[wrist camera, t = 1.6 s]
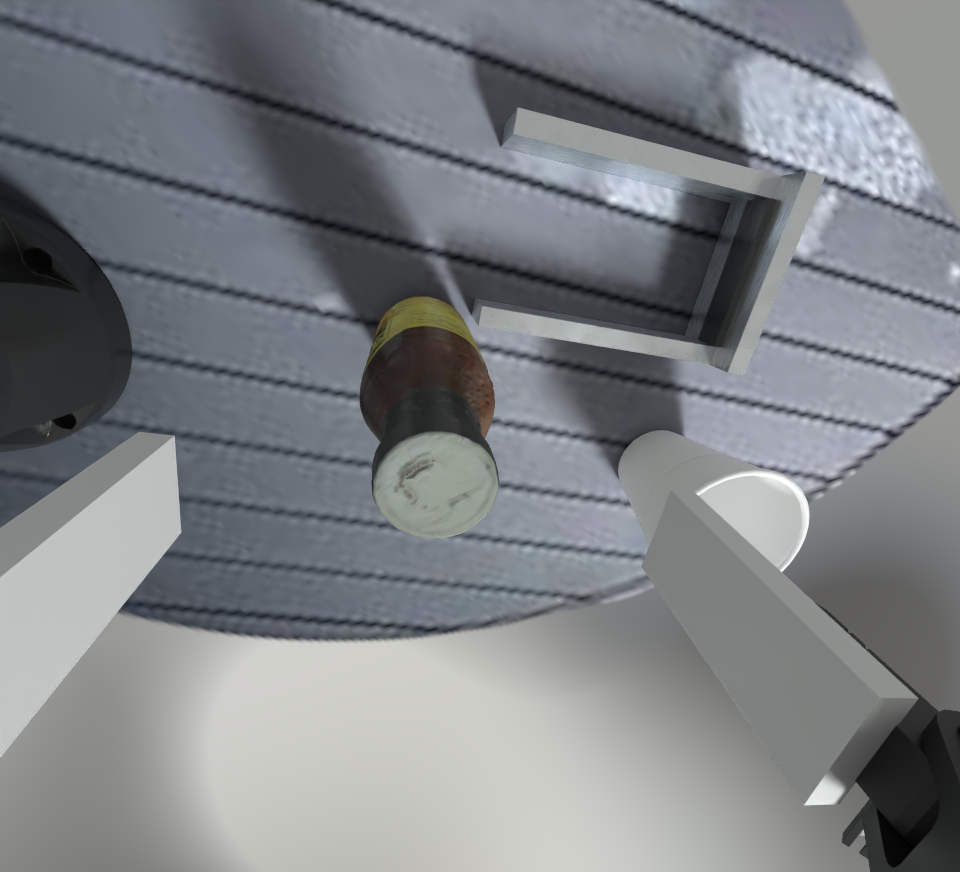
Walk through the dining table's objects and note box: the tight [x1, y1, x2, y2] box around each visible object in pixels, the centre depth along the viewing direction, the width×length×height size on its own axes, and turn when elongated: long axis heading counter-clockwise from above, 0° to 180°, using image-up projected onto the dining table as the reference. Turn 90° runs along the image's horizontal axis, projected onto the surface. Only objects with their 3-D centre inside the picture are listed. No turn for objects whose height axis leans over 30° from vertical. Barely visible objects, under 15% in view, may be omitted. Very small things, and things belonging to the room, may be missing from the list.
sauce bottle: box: [360, 296, 499, 539], centre depth 23 cm, size 6×6×20 cm
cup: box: [618, 430, 809, 572], centre depth 33 cm, size 10×10×11 cm
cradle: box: [472, 108, 825, 375], centre depth 29 cm, size 17×11×6 cm, turn 80°
